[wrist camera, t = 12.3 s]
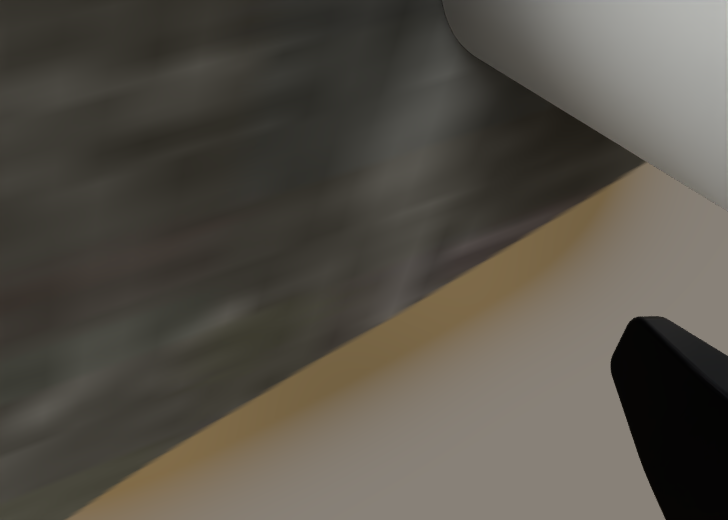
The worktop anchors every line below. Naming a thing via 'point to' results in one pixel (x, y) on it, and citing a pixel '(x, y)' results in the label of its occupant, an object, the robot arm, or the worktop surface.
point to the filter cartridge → (620, 72)
